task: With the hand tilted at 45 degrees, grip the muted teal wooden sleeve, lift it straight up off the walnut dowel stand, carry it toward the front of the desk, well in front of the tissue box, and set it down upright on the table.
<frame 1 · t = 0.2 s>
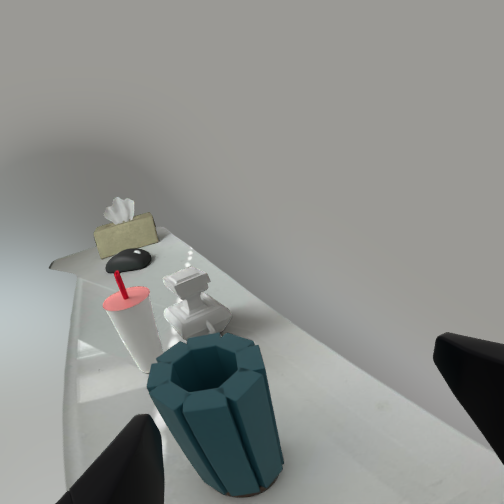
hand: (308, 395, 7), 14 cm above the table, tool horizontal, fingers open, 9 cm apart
tissue box: (129, 247, 86), on the table
sleeve: (240, 461, 17), point 1 cm above the table, touching dowel stand
stamp: (201, 334, 37), on the table
cup: (152, 365, 32), on the table
computer mouse: (128, 267, 67), on the table
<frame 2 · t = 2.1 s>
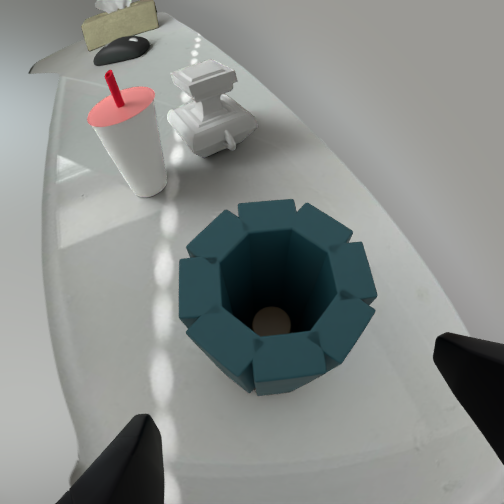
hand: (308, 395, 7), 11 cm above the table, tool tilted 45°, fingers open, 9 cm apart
tissue box: (123, 35, 55), on the table
dowel stand: (268, 349, 18), on the table
sleeve: (268, 346, 18), point 1 cm above the table, touching dowel stand
stamp: (213, 142, 29), on the table
cup: (150, 185, 26), on the table
computer mouse: (121, 57, 45), on the table
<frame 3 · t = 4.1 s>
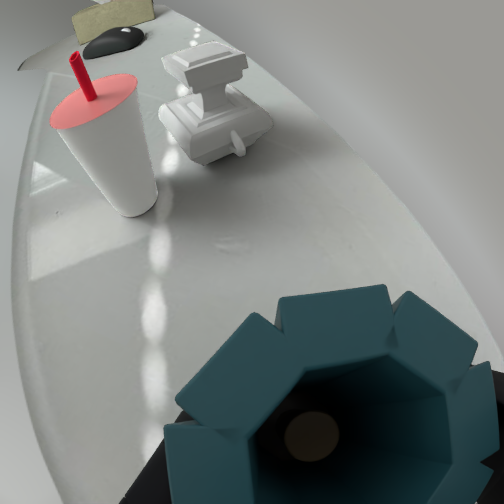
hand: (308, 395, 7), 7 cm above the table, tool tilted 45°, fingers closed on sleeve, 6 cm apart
tissue box: (117, 27, 49), on the table
dowel stand: (292, 425, 13), on the table
sleeve: (293, 426, 12), point 1 cm above the table, touching dowel stand, gripper
stamp: (216, 145, 23), on the table
cup: (137, 200, 21), on the table
computer mouse: (112, 50, 39), on the table
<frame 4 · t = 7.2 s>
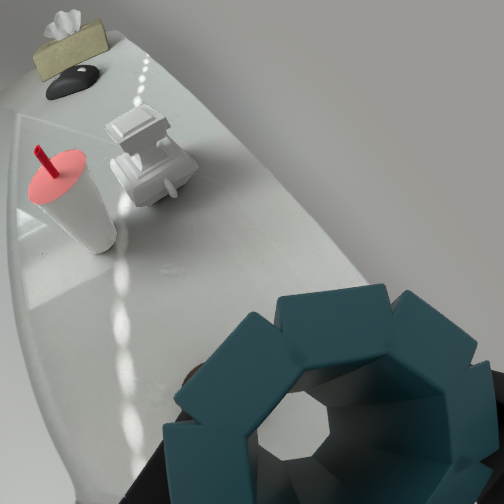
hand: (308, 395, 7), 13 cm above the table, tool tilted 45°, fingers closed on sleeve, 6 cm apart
tissue box: (75, 61, 52), on the table
sleeve: (293, 426, 12), point 7 cm above the table, touching gripper
stamp: (159, 186, 28), on the table
cup: (102, 239, 26), on the table
computer mouse: (72, 88, 43), on the table
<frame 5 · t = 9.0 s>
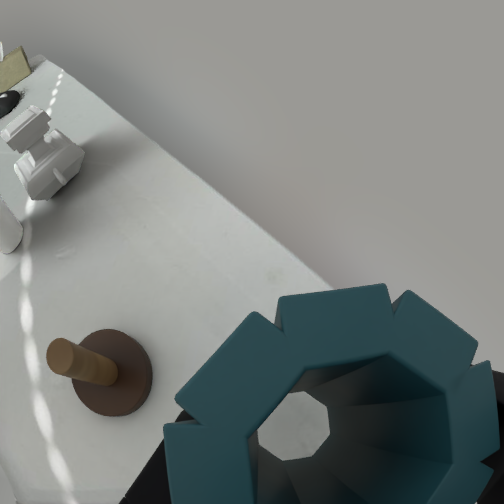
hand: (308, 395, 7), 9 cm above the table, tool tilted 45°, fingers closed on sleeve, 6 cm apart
tissue box: (3, 90, 45), on the table
dowel stand: (112, 374, 16), on the table
sleeve: (293, 426, 12), point 3 cm above the table, touching gripper
stamp: (58, 180, 25), on the table
cup: (12, 239, 22), on the table
when the fingers open (6 cm above the table, at t = 10.5 s): sleeve stays where it is, on the table.
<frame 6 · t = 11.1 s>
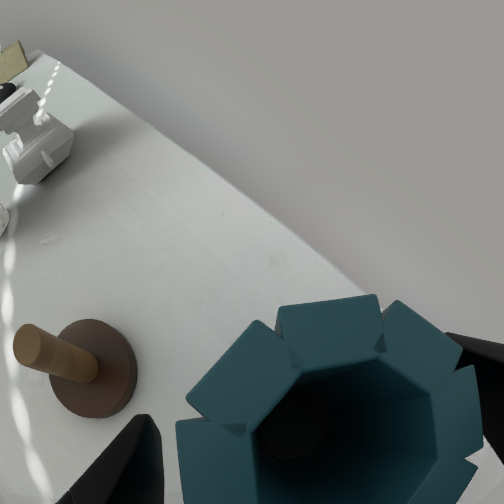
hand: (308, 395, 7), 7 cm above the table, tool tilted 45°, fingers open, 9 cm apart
tissue box: (0, 84, 43), on the table
dowel stand: (94, 370, 14), on the table
sleeve: (292, 424, 13), on the table
stamp: (48, 166, 23), on the table
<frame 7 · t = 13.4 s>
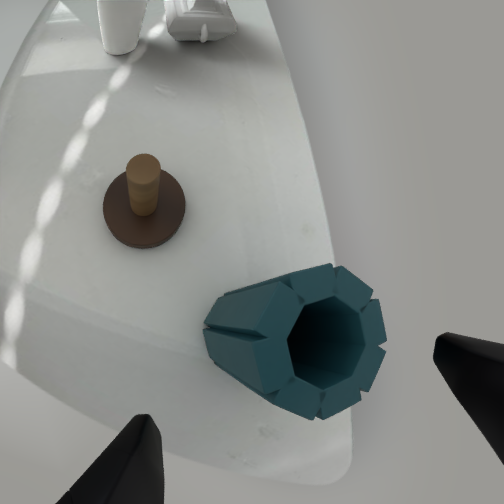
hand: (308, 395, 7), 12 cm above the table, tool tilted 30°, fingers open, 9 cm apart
dowel stand: (144, 208, 19), on the table
sleeve: (247, 332, 20), on the table
stamp: (192, 32, 24), on the table
cup: (120, 46, 21), on the table
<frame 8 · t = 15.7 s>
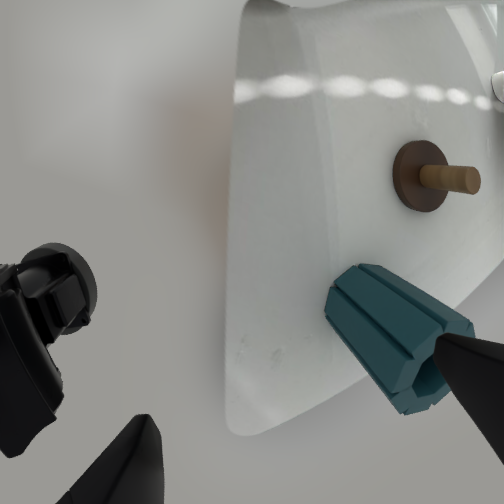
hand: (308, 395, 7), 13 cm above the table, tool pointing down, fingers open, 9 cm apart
dowel stand: (419, 175, 20), on the table
sleeve: (360, 300, 22), on the table
cup: (498, 88, 19), on the table
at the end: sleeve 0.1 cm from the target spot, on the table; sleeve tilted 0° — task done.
